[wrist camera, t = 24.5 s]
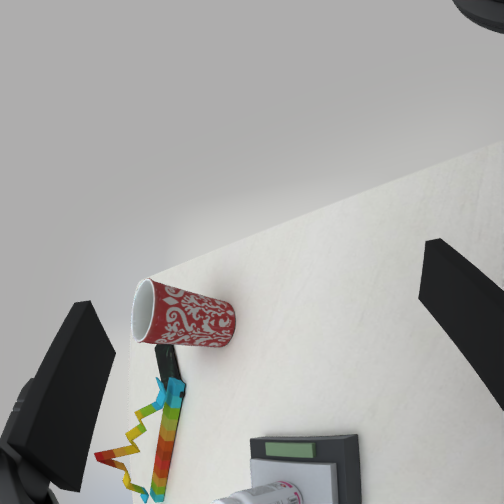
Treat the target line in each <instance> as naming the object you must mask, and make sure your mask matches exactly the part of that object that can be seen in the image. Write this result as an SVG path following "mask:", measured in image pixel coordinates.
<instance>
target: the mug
mask: <svg viewBox="0 0 504 504" xmlns="http://www.w3.org/2000/svg"><path fill="white" fill-rule="evenodd" d="M234 328H235V314H234V310H233V308H232V306H231V305H230V304H229V303H227V302H225V301H221V300H217V299H213V298H209V297H205V296H202V295H199V294H195V293H192V292H188V291H185V290H181V289H178V288H175V287H171V286H168V285H164V284H161V283H158V282H155V281H153V280H151V279H150V278H146V279H144V280H143V281H142V283H141V284H140V286H139V288H138V290H137V292H136V295H135V298H134V302H133V306H132V314H131V329H132V335H133V338H134V339H135V341H136V342H139V343H141V342H145V343H150V344H175V345H188V346H205V347H223V346H225V345H226V344H227V343H228V342H229V341H230V339H231V337H232V335H233V332H234Z"/></svg>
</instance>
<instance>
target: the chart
mask: <svg viewBox="0 0 504 504" xmlns="http://www.w3.org/2000/svg"><path fill="white" fill-rule="evenodd" d="M156 380H157V383H158V386H159V388H160V391H159V394H158V397H157V399H156V402H154V403H152V404H150V405H148V406H146V407H144V408H142V409H140V410H138V411H136V412H134V413H135V414H136V416H137V418H138V420H139V422H140V424H139V425H137V426H136V427H134V428H133V429H132V430H130V431H129V432H127V433H126V434H125V435H126V436H127V438H128V440H129V442H130V443H131V444H132V445H130V446H126V447H121V448H117V449H113V450H107V451H102V452H97V453H94V455H95V457H96V460H97V461H98V462H101V463H104V464H106V465H109V466H112V467H115V468H118V469H121V470H124V471H125V474H124V478H123V483H124V485H125V487H126V488H127V489H129V490H132V491H135V492H138V493H141V495H140V496H141V498H142V500H143V501H144V503H147V500H148V497H149V494H148V493H147V491H146V490H145V488H143V487H140V486H137V485H135V484H132V483H130V482H131V479H130V476H129V474H128V471H127V469H126V467H125V465H124V464H123V463H120V462H118V461H115V460H112V458H116V457H121V456H125V455H130V454H134V453H138V452H140V450H139V449H138V447H137V445H136V444H135V443H134V442H133V440H134V439H135V438H137V437H138V436H140V435H141V434H143V433H144V432H145V431H147V430H146V428H145V426H144V425H143V423H142V421H141V419H142V418H144V417H146V416H148V415H150V414H152V413H154V412H156V411H158V410H160V409H162V408H163V406H164V408H163V414H162V420H161V425H160V431H159V437H158V444H157V450H156V456H155V463H154V469H153V470H154V471H153V476H152V482H151V489H150V495H151V497H152V499H153V500H154V502H163V499H164V493H165V487H166V482H167V477H168V471H169V465H170V460H171V454H172V449H173V443H174V438H175V433H176V427H177V422H178V417H179V412H180V407H181V402H182V398H180V397H179V396H180V392H181V391H183V392H184V387H185V384H184V383H183V382H182V381H181V380H177V379H176V378H171V377H169V381H168V386H167V392H166V391H165V388H164V385H163V383H162V382H161V381H160V380H159V379H158V378H157V377H156Z"/></svg>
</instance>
